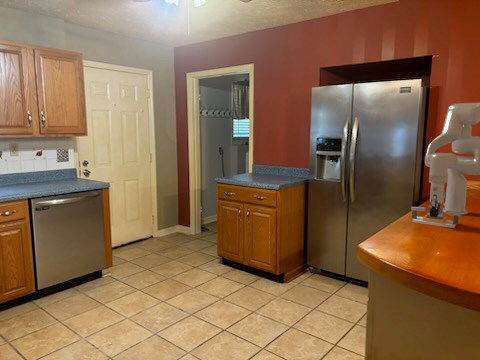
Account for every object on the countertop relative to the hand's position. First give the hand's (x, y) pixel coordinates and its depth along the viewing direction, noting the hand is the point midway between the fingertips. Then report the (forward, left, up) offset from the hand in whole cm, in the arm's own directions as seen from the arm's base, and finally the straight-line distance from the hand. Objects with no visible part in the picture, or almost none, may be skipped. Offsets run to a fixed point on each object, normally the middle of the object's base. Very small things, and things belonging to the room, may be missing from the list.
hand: (434, 215), depth 175 cm
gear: (-46, +34, -4) cm, 57 cm away
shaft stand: (0, 0, -4) cm, 4 cm away
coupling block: (0, 0, -3) cm, 3 cm away
